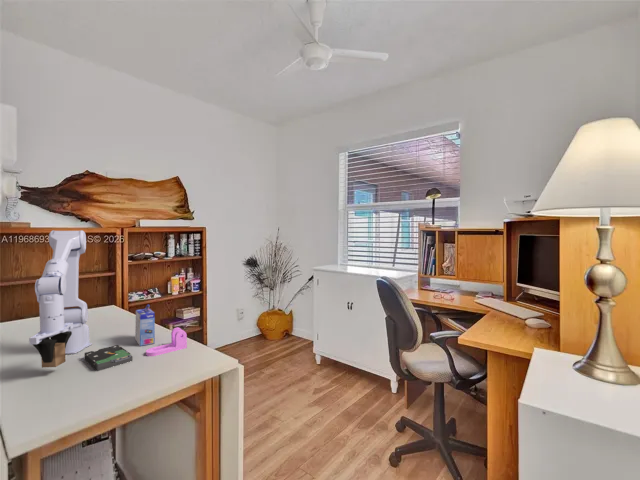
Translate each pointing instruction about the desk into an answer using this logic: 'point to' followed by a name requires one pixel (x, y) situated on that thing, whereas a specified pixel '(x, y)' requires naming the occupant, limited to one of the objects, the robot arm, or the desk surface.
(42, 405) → the desk surface
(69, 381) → the desk surface
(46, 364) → the walnut block
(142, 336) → the ink cartridge box
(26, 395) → the desk surface
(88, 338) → the robot arm
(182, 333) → the bracket
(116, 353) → the disk drive
